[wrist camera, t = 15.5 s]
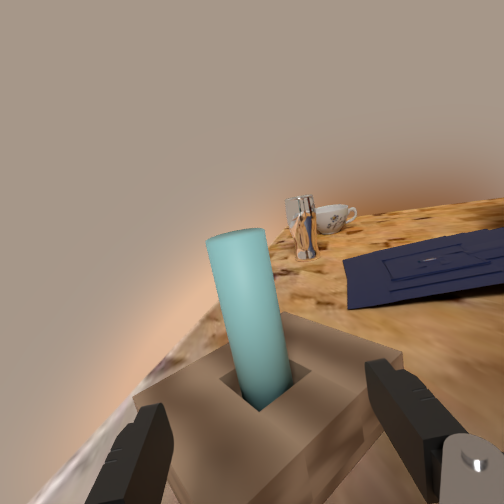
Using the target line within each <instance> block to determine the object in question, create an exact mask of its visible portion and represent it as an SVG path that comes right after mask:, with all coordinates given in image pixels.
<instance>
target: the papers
mask: <svg viewBox="0 0 504 504" xmlns="http://www.w3.org/2000/svg"><path fill="white" fill-rule="evenodd" d="M343 264H344V268H345V271H346V275H347V288H348V309H354V308H361V307H367V306H375V305H380V304H386V303H391V302H397V301H400V300H405V299H411V298H417V297H423V296H429V295H435V294H441V293H447V292H453V291H459V290H464V289H470V288H476V287H482V286H488V285H494V284H500V283H504V227H502V228H498V229H493V230H488V229H483V230H478V231H473V232H468V233H460V234H456V235H451V236H447V237H446V236H443V237H438V238H434V239H429V240H425V241H420V242H416V243H411V244H407V245H402V246H398V247H393V248H389V249H384V250H379V251H375V252H372V253H368V254H364V255H360V256H358V257H353V258H349V259H345V260H343Z"/></svg>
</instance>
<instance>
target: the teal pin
mask: <svg viewBox="0 0 504 504" xmlns="http://www.w3.org/2000/svg"><path fill="white" fill-rule="evenodd" d="M206 247H207V251H208V254H209V259H210V263H211V268H212V272H213V276H214V280H215V284H216V288H217V293H218V297H219V301H220V305H221V310H222V314H223V318H224V322H225V327H226V331H227V335H228V339H229V343H230V348H231V352H232V356H233V360H234V364H235V369H236V373H237V377H238V381H239V385H240V390H241V394H242V398H243V399H244V400H245V401H246V402H247V403H249V404H250V405H251V406H252V407H253V408H255V409H256V410H257V411H258V412H260V411H261V410H263V409H264V408H265V407H266V406H268V405H269V404H270V403H272V402H273V401H274V400H275V399H277V398H278V397H279V396H281V395H282V394H283V393H284V392H286V391H287V390H288V389H290V388H291V387H292V386H293V379H292V374H291V369H290V363H289V358H288V353H287V347H286V342H285V337H284V331H283V326H282V321H281V315H280V310H279V305H278V299H277V294H276V289H275V283H274V278H273V273H272V267H271V262H270V257H269V251H268V246H267V241H266V235H265V230H264V229H262V228H250V229H243V230H237V231H232V232H228V233H224V234H220V235H217V236H215V237H212V238H210V239H208V240H206Z"/></svg>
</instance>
